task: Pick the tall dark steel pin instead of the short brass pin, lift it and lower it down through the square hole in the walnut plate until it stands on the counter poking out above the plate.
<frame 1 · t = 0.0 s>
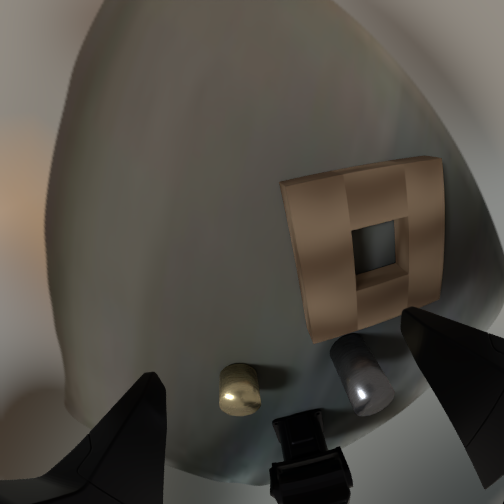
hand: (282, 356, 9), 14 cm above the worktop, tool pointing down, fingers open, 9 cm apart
hole plate: (370, 243, 24), on the worktop
short pin: (238, 376, 28), on the worktop
tall pin: (347, 348, 28), on the worktop
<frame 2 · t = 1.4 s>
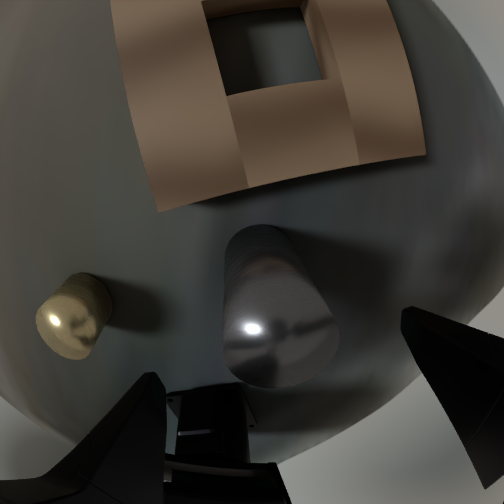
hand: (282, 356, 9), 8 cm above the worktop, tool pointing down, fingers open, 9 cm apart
hole plate: (265, 49, 12), on the worktop
short pin: (87, 299, 17), on the worktop
tall pin: (259, 257, 17), on the worktop
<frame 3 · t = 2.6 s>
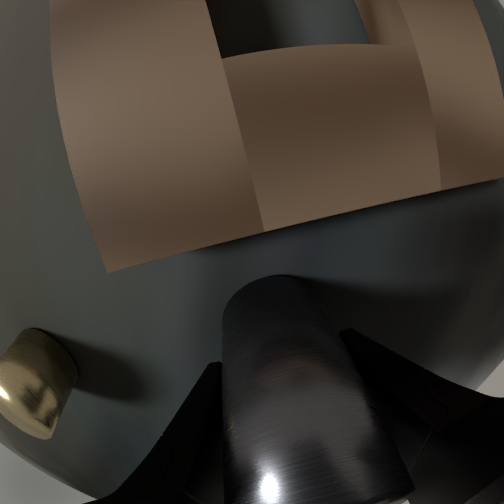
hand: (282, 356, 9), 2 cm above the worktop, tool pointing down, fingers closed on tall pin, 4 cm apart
hole plate: (285, 2, 7), on the worktop
short pin: (46, 359, 11), on the worktop
tall pin: (273, 322, 11), on the worktop, touching gripper
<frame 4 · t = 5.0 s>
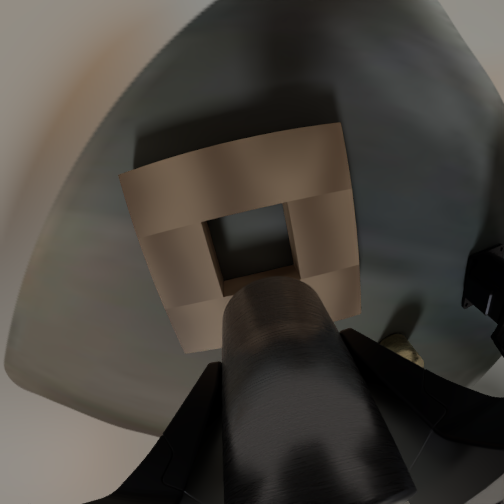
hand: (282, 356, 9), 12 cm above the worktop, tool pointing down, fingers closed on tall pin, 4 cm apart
hole plate: (251, 239, 20), on the worktop
short pin: (390, 348, 26), on the worktop
tall pin: (274, 322, 11), point 10 cm above the worktop, touching gripper
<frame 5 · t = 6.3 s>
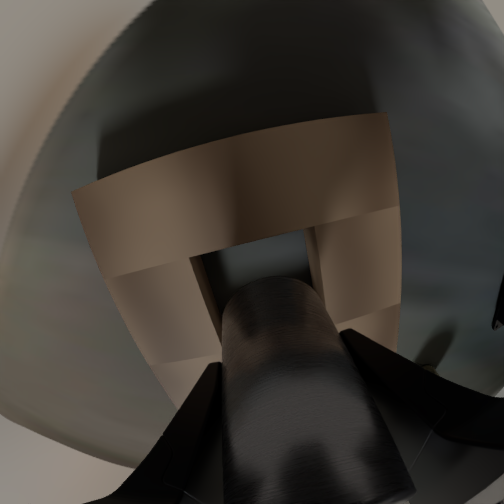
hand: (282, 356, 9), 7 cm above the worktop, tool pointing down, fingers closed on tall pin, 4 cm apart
hole plate: (259, 272, 15), on the worktop
tall pin: (273, 322, 11), point 5 cm above the worktop, touching gripper
when the fingers open (3 cm above the worktop, at t = 7.4 s): tall pin drops 1 cm, resting in hole plate.
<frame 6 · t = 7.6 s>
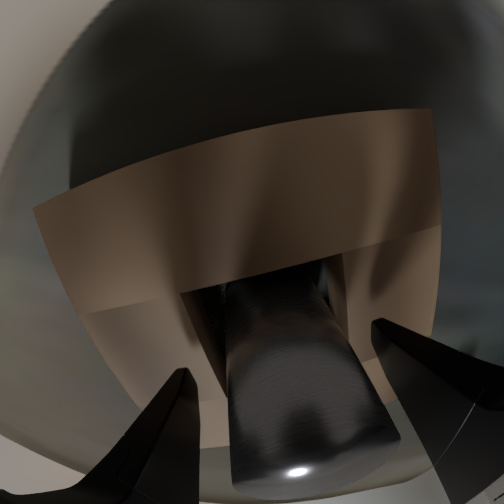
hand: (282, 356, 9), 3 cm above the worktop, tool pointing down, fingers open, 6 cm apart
hole plate: (268, 303, 12), on the worktop
tall pin: (271, 301, 12), resting in hole plate
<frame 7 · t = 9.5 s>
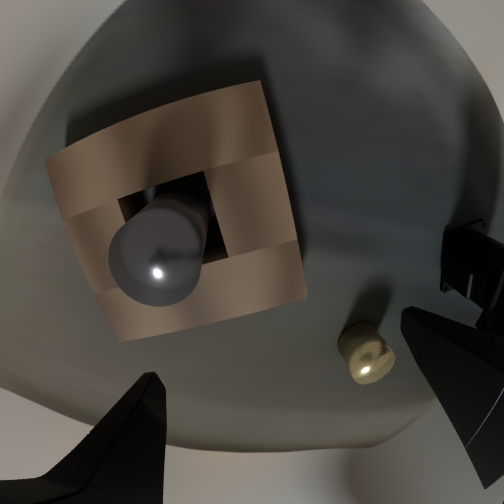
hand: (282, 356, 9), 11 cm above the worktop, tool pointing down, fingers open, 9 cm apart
hole plate: (178, 217, 18), on the worktop
short pin: (357, 339, 24), on the worktop
tall pin: (180, 216, 18), resting in hole plate
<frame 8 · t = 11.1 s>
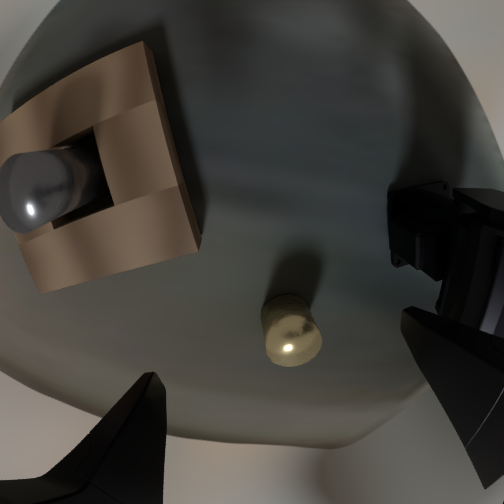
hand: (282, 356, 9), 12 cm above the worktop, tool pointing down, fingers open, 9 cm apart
hole plate: (86, 175, 17), on the worktop
short pin: (284, 315, 23), on the worktop
tall pin: (87, 174, 17), resting in hole plate
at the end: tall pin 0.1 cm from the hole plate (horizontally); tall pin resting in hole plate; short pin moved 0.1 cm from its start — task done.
